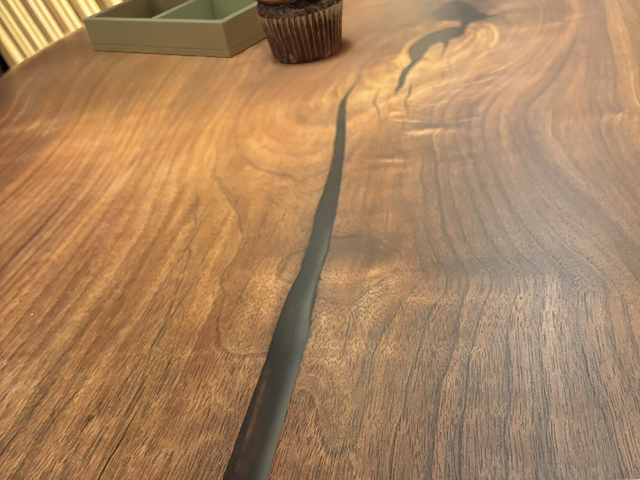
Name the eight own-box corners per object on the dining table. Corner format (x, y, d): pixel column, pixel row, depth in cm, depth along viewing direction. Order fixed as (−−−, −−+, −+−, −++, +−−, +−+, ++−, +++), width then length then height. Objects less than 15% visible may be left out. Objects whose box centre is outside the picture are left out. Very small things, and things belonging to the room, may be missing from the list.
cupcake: (252, 67, 80) (229, -34, 74) (286, 38, 87) (267, -56, 80) (332, 65, 77) (315, -40, 71) (360, 35, 84) (347, -63, 77)
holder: (230, 57, 84) (221, 22, 81) (93, 50, 94) (82, 19, 92) (288, 24, 91) (281, -9, 89) (155, 21, 101) (146, -9, 99)
